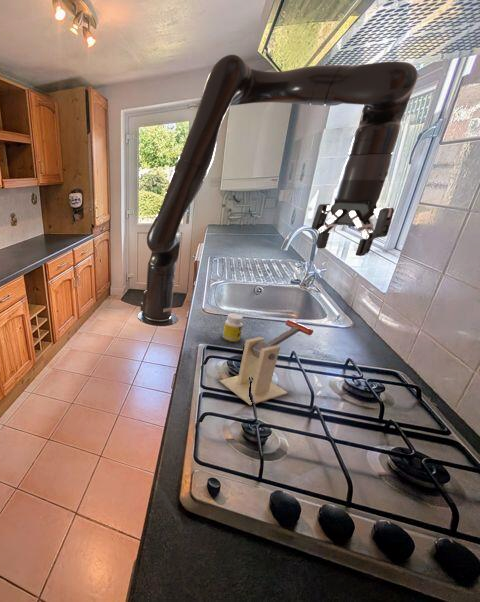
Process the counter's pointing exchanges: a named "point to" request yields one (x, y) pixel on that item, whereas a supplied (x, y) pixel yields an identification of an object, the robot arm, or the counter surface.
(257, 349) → the lever
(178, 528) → the counter surface
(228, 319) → the supplement bottle
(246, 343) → the bracket
